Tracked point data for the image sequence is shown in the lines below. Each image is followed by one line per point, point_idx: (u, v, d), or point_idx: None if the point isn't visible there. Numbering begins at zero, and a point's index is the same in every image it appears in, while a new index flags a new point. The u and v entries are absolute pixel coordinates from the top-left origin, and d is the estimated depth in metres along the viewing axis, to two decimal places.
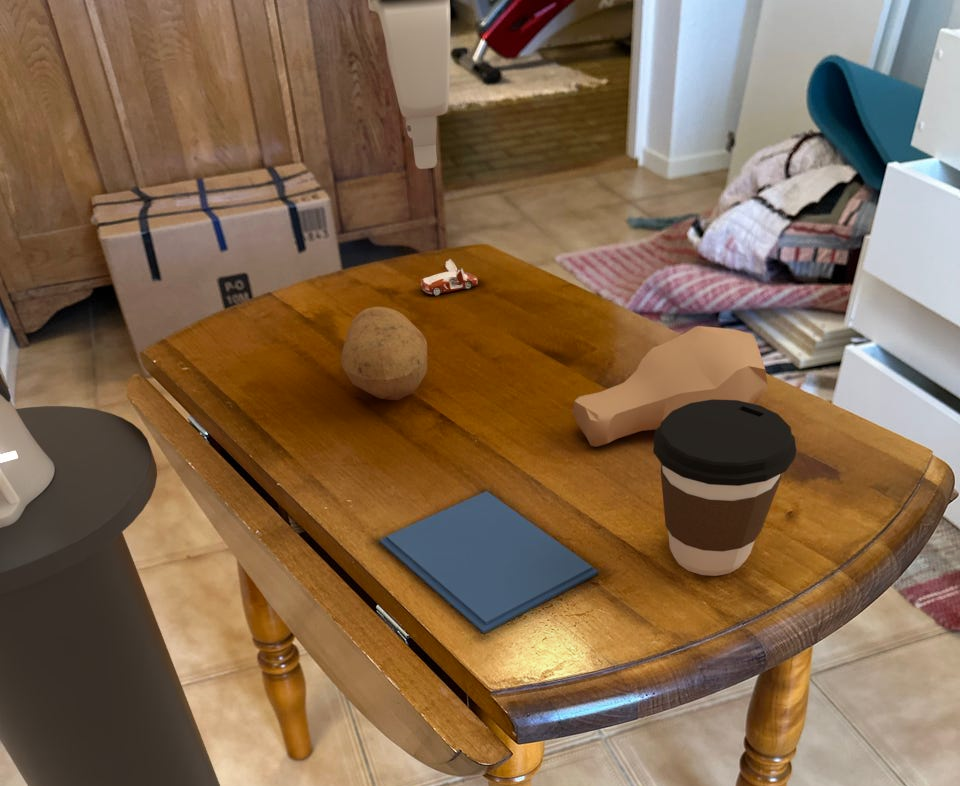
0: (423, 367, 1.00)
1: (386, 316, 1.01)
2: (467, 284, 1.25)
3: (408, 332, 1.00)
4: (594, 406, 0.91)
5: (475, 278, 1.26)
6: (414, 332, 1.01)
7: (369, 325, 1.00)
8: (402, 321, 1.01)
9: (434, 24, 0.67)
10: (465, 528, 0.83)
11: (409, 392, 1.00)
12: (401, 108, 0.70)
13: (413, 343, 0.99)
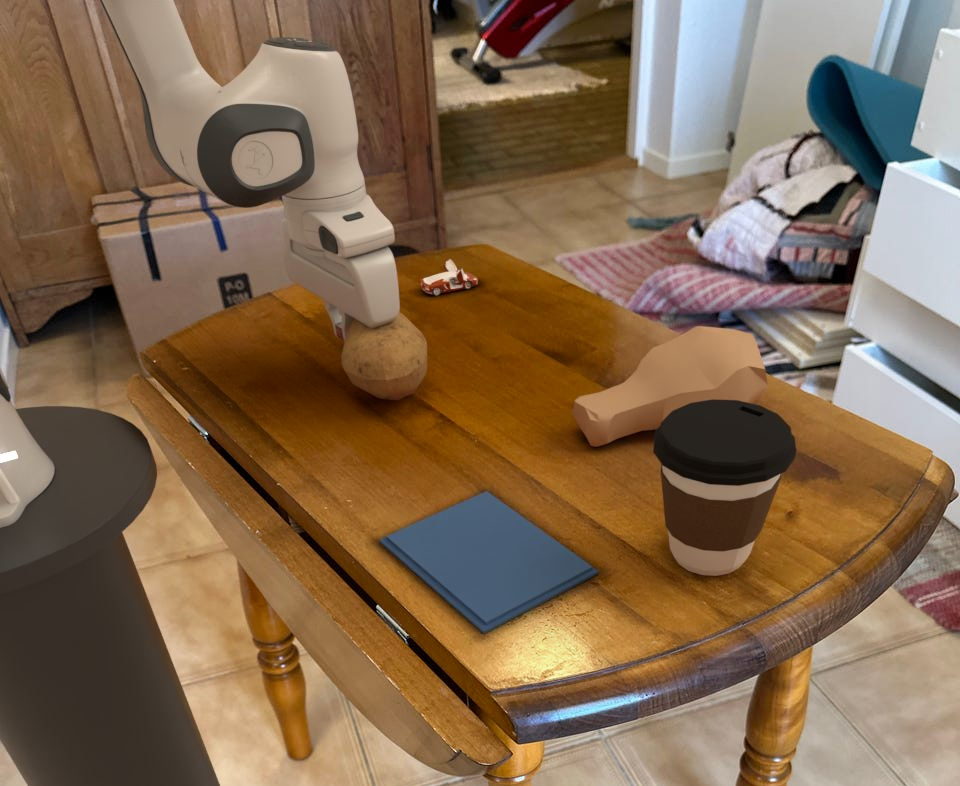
0: (423, 367, 1.00)
1: None
2: (467, 284, 1.25)
3: (408, 332, 1.00)
4: (594, 406, 0.91)
5: (475, 278, 1.26)
6: (414, 332, 1.01)
7: None
8: (402, 321, 1.01)
9: (387, 267, 0.96)
10: (465, 528, 0.83)
11: (409, 392, 1.00)
12: (370, 323, 0.98)
13: (413, 343, 0.99)
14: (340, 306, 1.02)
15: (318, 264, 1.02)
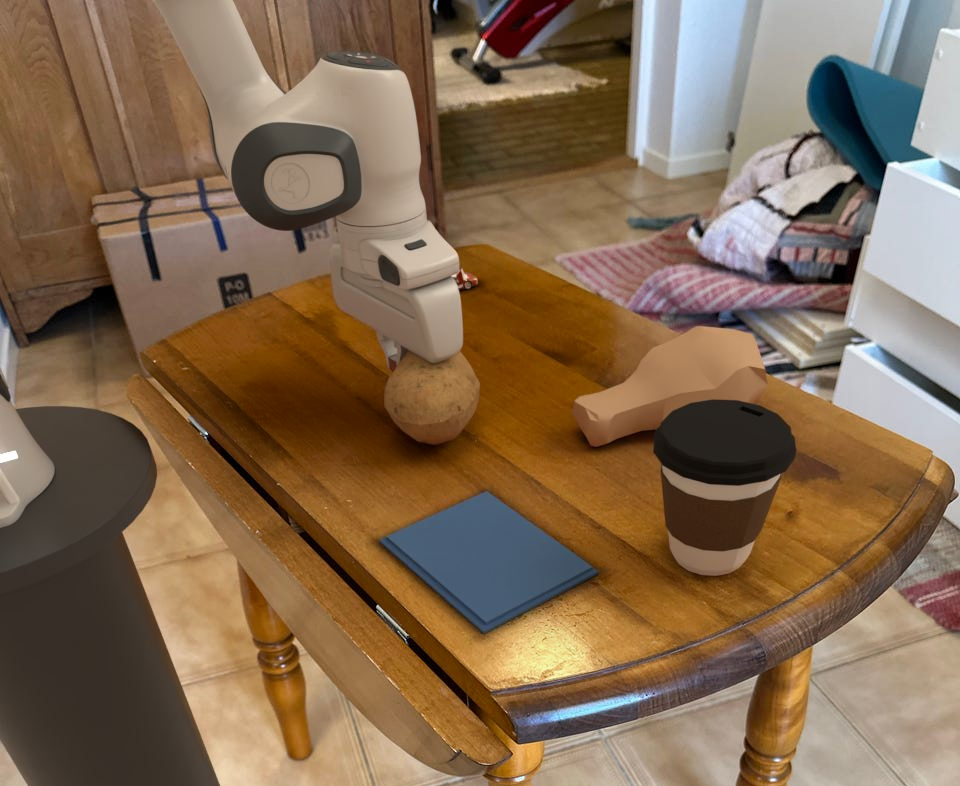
0: (466, 413, 0.92)
1: None
2: (467, 284, 1.25)
3: (455, 373, 0.92)
4: (594, 406, 0.91)
5: (475, 278, 1.26)
6: (464, 374, 0.93)
7: (415, 361, 0.92)
8: (454, 360, 0.94)
9: (452, 298, 0.89)
10: (465, 528, 0.83)
11: (447, 439, 0.92)
12: (432, 358, 0.91)
13: (458, 386, 0.91)
14: (397, 339, 0.95)
15: (372, 294, 0.95)
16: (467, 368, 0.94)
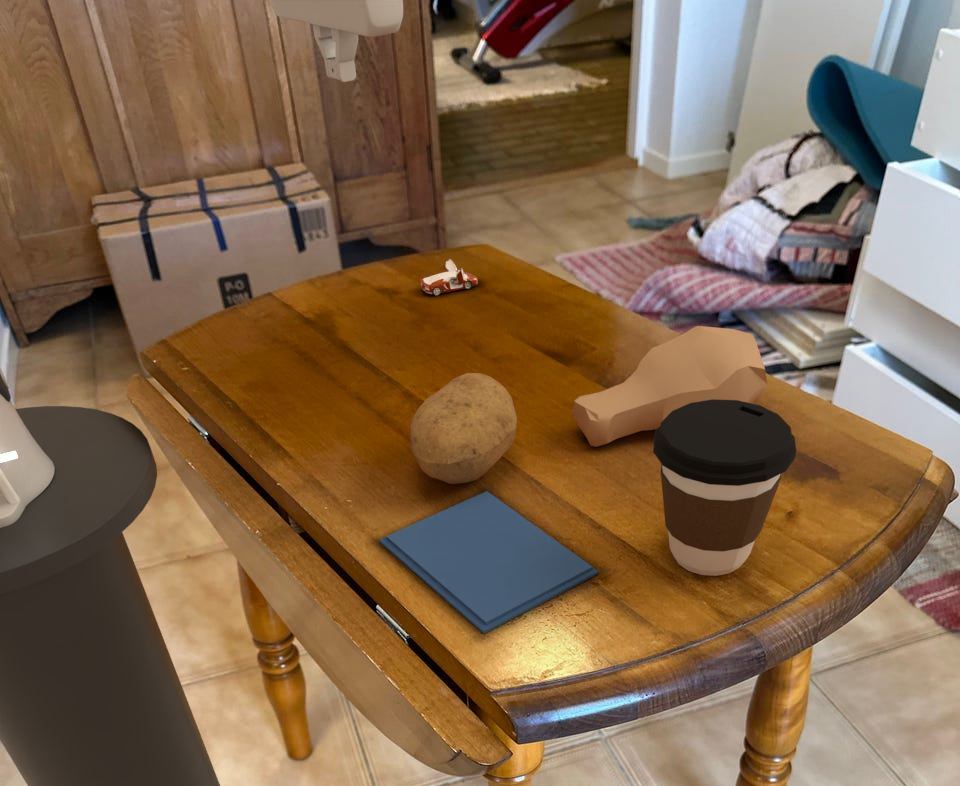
0: (484, 458, 0.85)
1: (475, 388, 0.88)
2: (467, 284, 1.25)
3: (483, 414, 0.86)
4: (594, 406, 0.91)
5: (475, 278, 1.26)
6: (494, 415, 0.86)
7: (446, 394, 0.87)
8: (489, 399, 0.87)
9: None
10: (465, 528, 0.83)
11: (460, 481, 0.86)
12: (368, 28, 0.82)
13: (480, 428, 0.85)
14: (333, 21, 0.86)
15: None
16: (502, 409, 0.88)
